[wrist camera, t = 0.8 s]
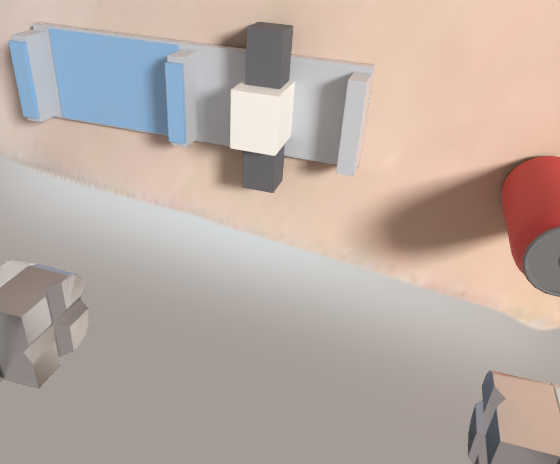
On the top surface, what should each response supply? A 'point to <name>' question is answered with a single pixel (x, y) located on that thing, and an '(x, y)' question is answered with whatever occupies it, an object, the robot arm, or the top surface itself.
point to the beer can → (535, 220)
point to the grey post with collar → (263, 105)
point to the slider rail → (183, 89)
